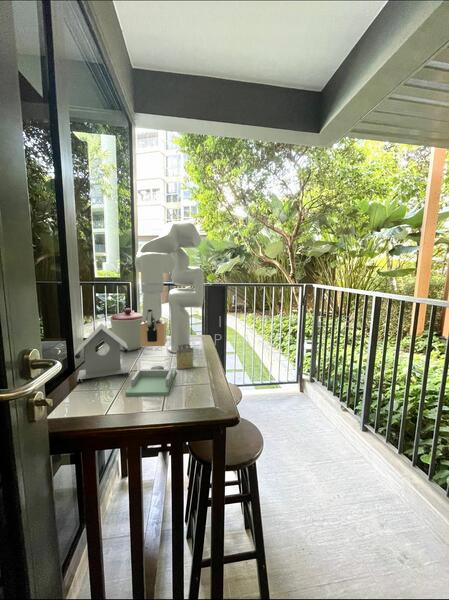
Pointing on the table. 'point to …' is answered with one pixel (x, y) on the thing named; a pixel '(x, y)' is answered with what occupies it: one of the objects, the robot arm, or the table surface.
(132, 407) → the table surface
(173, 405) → the table surface
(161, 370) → the green walled tray
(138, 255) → the robot arm
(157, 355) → the table surface
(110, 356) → the grey nesting box
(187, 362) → the lighter
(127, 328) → the canister
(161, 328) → the chute block
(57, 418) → the table surface
